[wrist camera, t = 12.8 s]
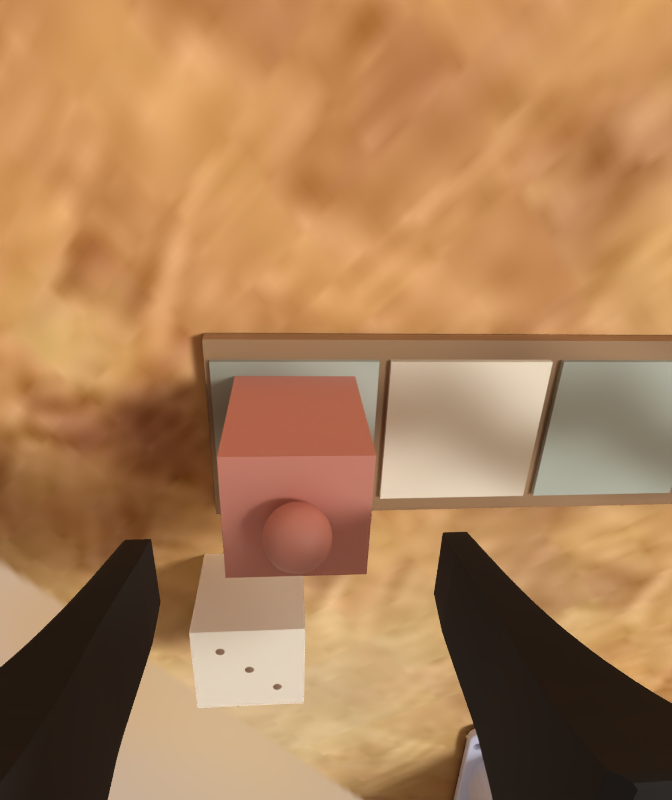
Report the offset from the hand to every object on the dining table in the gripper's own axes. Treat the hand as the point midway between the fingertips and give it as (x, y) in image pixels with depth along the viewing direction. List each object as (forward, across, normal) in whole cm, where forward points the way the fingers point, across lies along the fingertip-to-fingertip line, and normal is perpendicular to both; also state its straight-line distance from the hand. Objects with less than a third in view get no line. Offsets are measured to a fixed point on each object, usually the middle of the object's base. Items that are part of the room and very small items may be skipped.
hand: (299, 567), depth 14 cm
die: (+7, +2, +8) cm, 11 cm away
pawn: (+6, 0, 0) cm, 6 cm away
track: (+7, -9, 0) cm, 11 cm away
